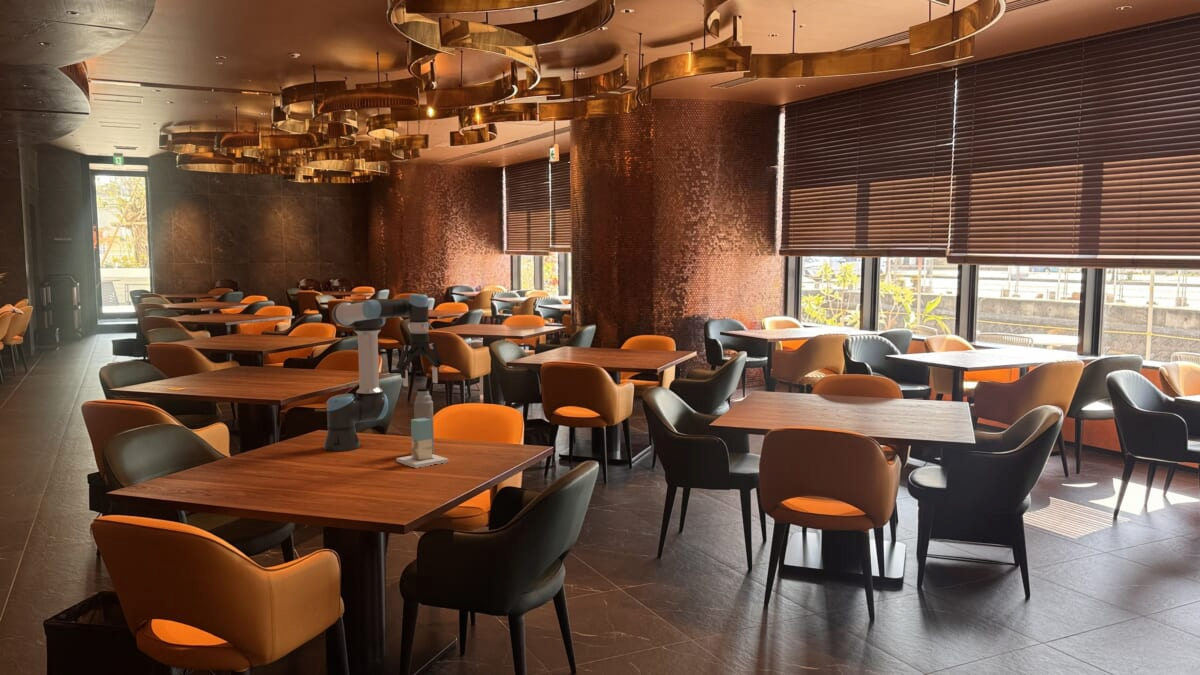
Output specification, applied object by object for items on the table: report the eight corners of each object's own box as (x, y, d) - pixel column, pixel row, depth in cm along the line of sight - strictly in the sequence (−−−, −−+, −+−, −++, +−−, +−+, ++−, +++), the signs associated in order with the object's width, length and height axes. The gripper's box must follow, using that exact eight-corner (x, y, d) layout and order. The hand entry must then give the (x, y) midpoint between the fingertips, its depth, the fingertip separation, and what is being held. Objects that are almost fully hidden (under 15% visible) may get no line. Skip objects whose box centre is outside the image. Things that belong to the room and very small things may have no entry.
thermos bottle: (435, 450, 391) (434, 387, 388) (431, 454, 383) (430, 389, 380) (417, 450, 391) (415, 387, 388) (413, 454, 383) (411, 389, 380)
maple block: (411, 457, 370) (411, 438, 369) (424, 455, 373) (424, 436, 373) (419, 460, 365) (418, 440, 364) (432, 458, 369) (431, 438, 368)
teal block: (411, 438, 369) (410, 419, 368) (424, 436, 373) (423, 417, 372) (418, 441, 364) (418, 421, 364) (431, 438, 368) (431, 419, 367)
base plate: (396, 461, 370) (396, 457, 370) (428, 456, 380) (428, 452, 380) (415, 468, 358) (415, 464, 358) (448, 462, 368) (448, 458, 368)
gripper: (395, 334, 354) (397, 388, 356) (450, 331, 370) (451, 382, 372) (386, 333, 359) (388, 386, 361) (441, 330, 376) (442, 380, 377)
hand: (420, 384), depth 367 cm, fingers open, 13 cm apart
